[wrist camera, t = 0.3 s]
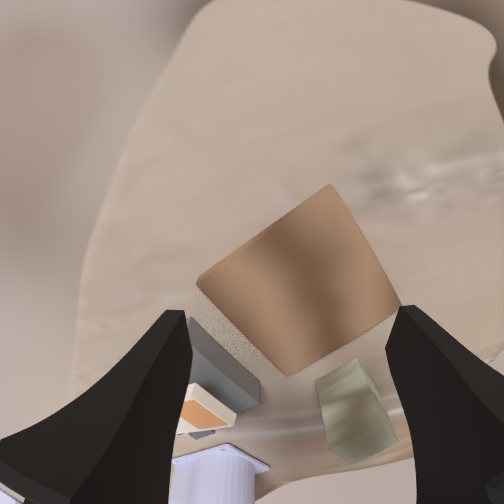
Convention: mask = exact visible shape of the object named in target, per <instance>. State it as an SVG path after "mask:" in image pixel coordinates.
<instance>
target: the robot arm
mask: <svg viewBox="0 0 504 504" xmlns="http://www.w3.org/2000/svg"><path fill="white" fill-rule="evenodd" d="M385 350H386V355H387V360H388V364H389V368H390V373H391V376H392V378H393V381H394V384H395V387H396V390H397V393H398V396H399V398H400V401H401V404H402V407H403V410H404V413H405V416H406V419H407V422H408V426H409V430H410V434H411V440H412V446H413V452H414V459H415V469H416V485H417V486H416V487H417V502H416V504H504V376H503V375H502V374H500V373H499V372H497V371H496V370H494V369H493V368H492V367H490V366H489V365H487V364H486V363H484V362H483V361H482V360H480V359H479V358H478V357H477V356H475V355H474V354H473V353H472V352H470V351H469V350H468V349H467V348H465V347H464V346H463V345H462V344H461V343H459V342H458V341H457V340H456V339H455V338H454V337H452V336H451V335H450V334H449V333H448V332H447V331H445V330H444V329H443V328H442V327H441V326H440V325H439V324H437V323H436V322H435V321H434V320H433V319H432V318H430V317H429V316H428V315H427V314H426V313H424V312H423V311H422V310H421V309H419V308H418V307H417V306H415V305H408V306H400V307H399V310H398V313H397V316H396V319H395V322H394V325H393V328H392V330H391V333H390V336H389V339H388V341H387V344H386V347H385ZM192 359H193V350H192V345H191V341H190V336H189V332H188V327H187V322H186V317H185V312H184V310H166V311H165V312H164V313H163V314H162V315H161V316H160V317H159V318H158V319H157V321H156V322H155V323H154V324H153V325H152V326H151V327H150V329H149V330H148V331H147V332H146V333H145V334H144V335H143V336H142V338H141V339H140V340H139V341H138V342H137V343H136V344H135V345H134V346H133V347H132V348H131V350H130V351H129V352H128V353H127V354H126V355H125V356H124V357H123V358H122V359H121V360H120V361H119V362H118V363H117V364H116V365H115V366H114V367H113V368H112V369H111V370H110V371H109V372H108V373H107V374H106V375H104V376H103V377H102V378H101V379H100V380H99V381H98V382H97V383H95V384H94V385H93V386H92V387H91V388H89V389H88V390H87V391H86V392H84V393H83V394H82V395H80V396H79V397H78V398H76V399H75V400H73V401H72V402H70V403H69V404H68V405H66V406H65V407H63V408H62V409H60V410H59V411H57V412H56V413H54V414H52V415H51V416H49V417H47V418H46V419H44V420H42V421H40V422H38V423H37V424H35V425H33V426H31V427H29V428H27V429H24V430H22V431H20V432H17V433H15V434H13V435H11V436H8V437H6V438H3V439H1V441H0V482H1V483H2V484H4V485H5V486H7V487H8V488H10V489H11V490H13V491H14V492H16V493H18V494H19V495H21V496H23V497H24V498H25V500H24V502H22V501H20V500H18V499H17V498H15V497H13V496H12V495H10V494H9V493H7V492H6V491H4V490H2V489H1V488H0V504H255V474H258V473H262V472H265V471H268V470H270V467H269V466H268V465H266V464H264V463H262V462H260V461H258V460H256V459H255V458H253V457H251V456H249V455H247V454H246V453H244V452H242V451H240V450H239V449H237V448H235V447H234V446H232V445H230V444H222V445H219V446H216V447H213V448H210V449H206V450H203V451H199V452H196V453H192V454H189V455H185V456H181V457H177V458H173V459H172V454H173V446H174V440H175V435H176V431H177V427H178V423H179V419H180V415H181V411H182V408H183V404H184V400H185V396H186V392H187V388H188V384H189V380H190V374H191V367H192ZM171 464H173V465H175V466H174V471H173V477H172V482H171V487H170V493H169V484H170V473H171Z"/></svg>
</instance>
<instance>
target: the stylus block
mask: <svg viewBox="0 0 504 504" xmlns="http://www.w3.org/2000/svg"><path fill="white" fill-rule="evenodd" d="M315 383H316V388H317V392H318V397H319V402H320V407H321V412H322V417H323V422H324V427H325V432H326V437H327V442H328V447H329V450H330V451H332V452H333V453H335V454H336V455H338V456H339V457H341V458H342V459H344V460H345V461H347V462H349V463H350V464H353V463H355V462H358V461H360V460H362V459H365V458H367V457H369V456H371V455H373V454H375V453H377V452H380V451H382V450H384V449H386V448H388V447H390V446H392V445H394V444H395V443H397V442H398V440H397V437H396V434H395V432H394V429H393V426H392V424H391V421H390V419H389V416H388V413H387V411H386V408H385V406H384V403H383V401H382V398H381V396H380V393H379V391H378V388H377V386H376V383H375V381H374V380H373V378H372V377H371V376H370V374H369V373H368V371H367V370H366V369H365V367H364V366H363V365H362V363H361V362H360V361H359V359H358V358H355V359H353V360H352V361H350V362H348V363H347V364H345V365H343V366H341V367H340V368H338V369H336V370H334V371H332V372H331V373H329V374H327V375H325V376H323V377H321V378H320V379H318V380H316V381H315Z"/></svg>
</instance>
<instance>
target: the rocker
mask: <svg viewBox="0 0 504 504" xmlns="http://www.w3.org/2000/svg"><path fill="white" fill-rule="evenodd" d="M236 416H237V414H236V413H234V412H233V411H232V410H230V409H229V408H228V407H226V406H225V405H224V404H222V403H221V402H220V401H218V400H217V399H216V398H214V397H213V396H212V395H211V394H209V393H208V392H207V391H206V390H204V389H203V388H202V387H201V386H199V385H198V384H197V383H193V384H189V385H188V388H187V392H186V396H185V400H184V404H183V408H182V411H181V415H180V419H179V423H178V427H177V431H176V434H181V433H191V432H199V431H207V430H214V429H221V428H227V427H233V426H234V424H235V420H236Z"/></svg>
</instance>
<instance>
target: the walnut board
mask: <svg viewBox="0 0 504 504" xmlns="http://www.w3.org/2000/svg"><path fill="white" fill-rule="evenodd" d="M196 285H197V286H198V287H199V288H200V290H201V291H202V292H203V293H204V294H205V295H206V296H207V297H208V298H209V299H210V300H211V301H212V302H213V303H214V305H215V306H216V307H217V308H218V309H219V310H220V311H221V312H222V313H223V314H224V315H225V316H226V317H227V318H228V319H229V320H230V321H231V322H232V323H233V324H234V325H235V326H236V327H237V328H238V329H239V330H240V331H241V332H242V333H243V335H244V336H245V337H246V338H247V339H248V340H249V341H250V342H251V343H252V344H253V345H254V346H255V347H256V348H257V349H258V350H260V351H261V352H262V353H263V354H264V355H265V356H266V357H267V358H268V359H269V360H270V361H271V362H272V363H273V364H274V365H275V366H276V367H277V368H278V369H279V370H280V371H281V372H282V373H283V374H284V375H285V376H286V377H287V376H288V375H290V374H292V373H294V372H296V371H298V370H300V369H302V368H304V367H305V366H307V365H309V364H311V363H313V362H315V361H316V360H318V359H320V358H322V357H323V356H325V355H327V354H329V353H330V352H332V351H334V350H335V349H337V348H339V347H341V346H342V345H344V344H346V343H347V342H349V341H350V340H352V339H354V338H355V337H357V336H358V335H360V334H362V333H363V332H365V331H366V330H368V329H369V328H371V327H373V326H374V325H376V324H377V323H379V322H380V321H382V320H383V319H385V318H386V317H388V316H389V315H391V314H392V313H393V312H395V311H396V310H398V309H399V307H400V306H402V304H401V302H400V300H399V298H398V296H397V294H396V292H395V290H394V289H393V287H392V285H391V283H390V281H389V279H388V277H387V275H386V274H385V272H384V270H383V268H382V266H381V264H380V263H379V261H378V259H377V257H376V255H375V254H374V252H373V250H372V248H371V247H370V245H369V243H368V242H367V240H366V238H365V236H364V235H363V233H362V231H361V230H360V228H359V226H358V225H357V223H356V221H355V220H354V218H353V217H352V215H351V213H350V212H349V210H348V209H347V207H346V205H345V204H344V202H343V201H342V199H341V198H340V196H339V194H338V193H337V191H336V190H335V188H334V187H333V186H331V185H330V184H329V185H327V186H326V187H324V188H323V189H321V190H320V191H319V192H317V193H316V194H314V195H313V196H312V197H310V198H309V199H307V200H306V201H304V202H303V203H302V204H300V205H299V206H297V207H296V208H295V209H293V210H292V211H290V212H289V213H287V214H286V215H285V216H283V217H282V218H280V219H279V220H278V221H276V222H275V223H273V224H272V225H271V226H269V227H268V228H266V229H265V230H264V231H262V232H261V233H259V234H258V235H257V236H255V237H254V238H252V239H251V240H250V241H248V242H247V243H245V244H244V245H243V246H241V247H240V248H238V249H237V250H236V251H234V252H233V253H231V254H230V255H229V256H227V257H226V258H224V259H223V260H222V261H220V262H219V263H218V264H216V265H215V266H213V267H212V268H211V269H209V270H208V271H206V272H205V273H204V274H202V275H201V276H200V277H198V280H197V283H196Z"/></svg>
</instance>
